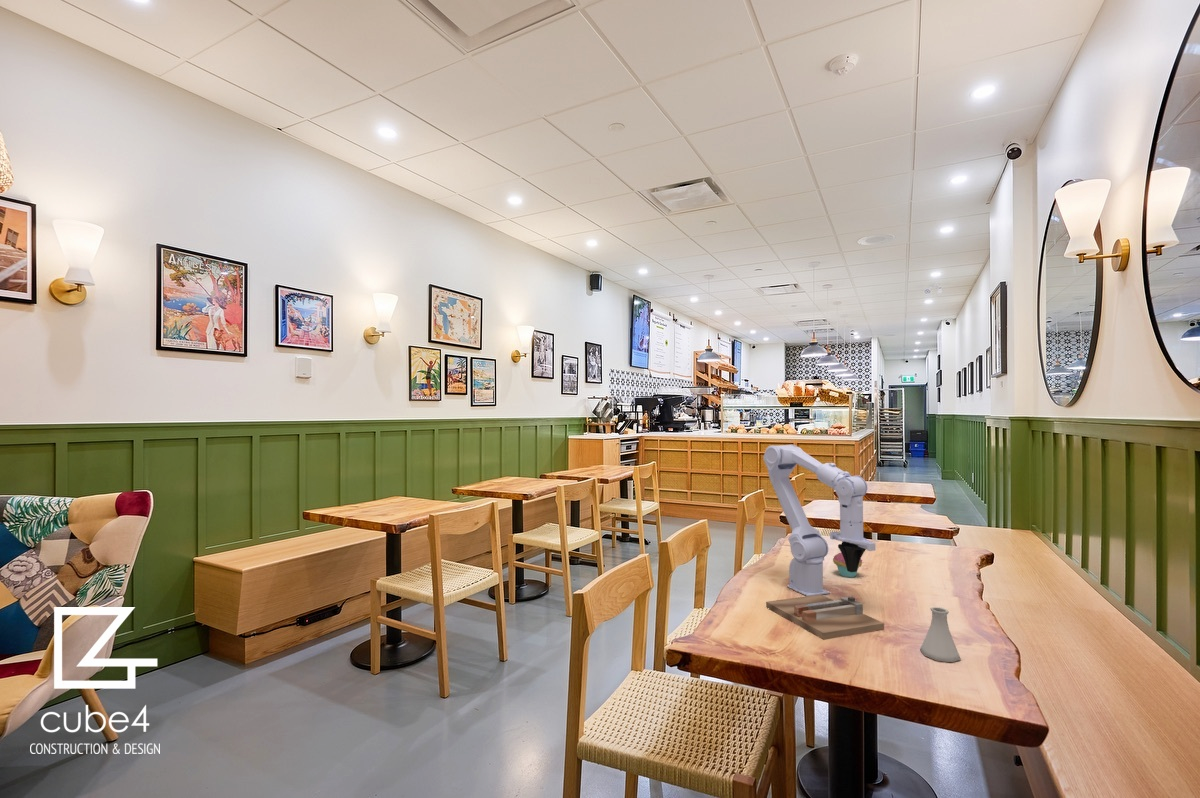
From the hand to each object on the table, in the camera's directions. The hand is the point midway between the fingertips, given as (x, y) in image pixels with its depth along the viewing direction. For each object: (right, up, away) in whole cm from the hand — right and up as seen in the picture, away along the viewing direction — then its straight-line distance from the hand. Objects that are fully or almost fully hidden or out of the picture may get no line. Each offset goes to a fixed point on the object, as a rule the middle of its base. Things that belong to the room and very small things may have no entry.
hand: (852, 571), depth 150 cm
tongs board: (-12, -9, -8) cm, 17 cm away
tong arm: (-12, -8, -9) cm, 17 cm away
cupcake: (+11, -10, +28) cm, 32 cm away
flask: (+5, -9, -30) cm, 32 cm away
